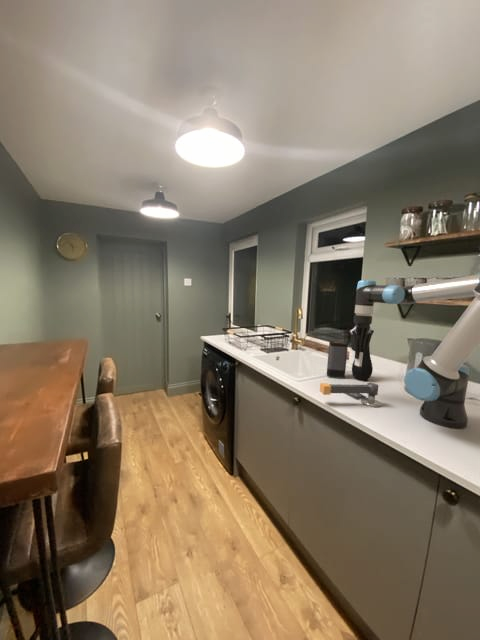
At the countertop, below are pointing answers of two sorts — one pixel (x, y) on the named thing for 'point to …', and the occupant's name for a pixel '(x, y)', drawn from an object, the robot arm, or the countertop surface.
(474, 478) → the countertop surface
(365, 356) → the bottle
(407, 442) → the countertop surface
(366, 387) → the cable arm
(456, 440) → the countertop surface
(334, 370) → the electronic device
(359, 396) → the power supply label
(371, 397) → the pivot post
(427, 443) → the countertop surface
